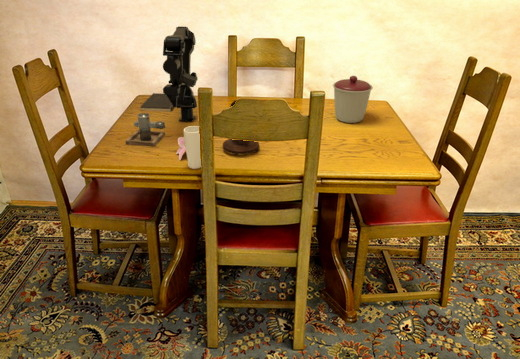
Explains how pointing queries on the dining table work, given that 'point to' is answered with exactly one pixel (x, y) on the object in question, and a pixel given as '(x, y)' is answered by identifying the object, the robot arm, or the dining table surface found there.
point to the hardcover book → (157, 103)
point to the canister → (351, 99)
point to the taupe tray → (135, 140)
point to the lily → (181, 147)
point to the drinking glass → (192, 146)
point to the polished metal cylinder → (144, 126)
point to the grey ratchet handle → (153, 124)
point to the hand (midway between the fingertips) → (178, 103)
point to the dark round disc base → (240, 145)
